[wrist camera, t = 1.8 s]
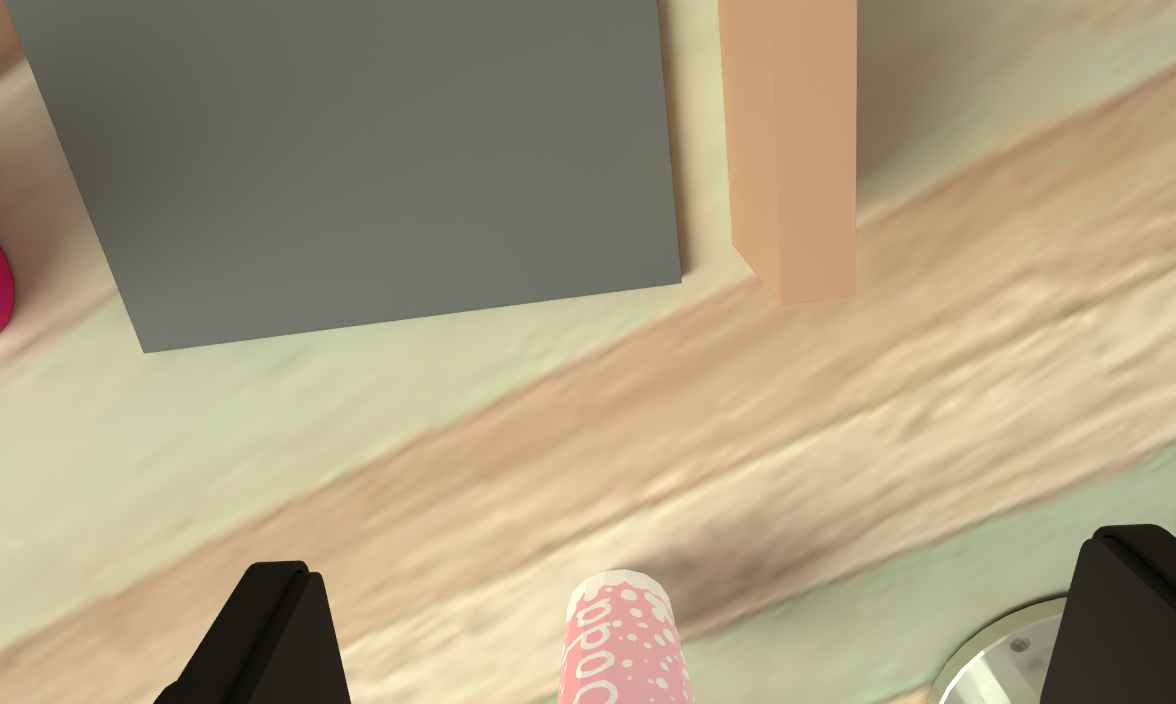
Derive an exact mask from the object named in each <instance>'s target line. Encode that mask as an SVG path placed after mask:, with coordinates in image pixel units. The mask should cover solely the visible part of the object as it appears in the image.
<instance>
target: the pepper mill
mask: <svg viewBox="0 0 1176 704" xmlns="http://www.w3.org/2000/svg"><path fill="white" fill-rule="evenodd" d="M13 297H14V283H13V280H12V276H11V272H10V268H9V265H8V263H7V261H6V259H5V257H4V255H3V253H2V251H1V249H0V331H1V330H2V329H3V328H4V327H5V325H6V323H7V321H8V319H9V317H10V314H11V311H12V308H13Z"/></svg>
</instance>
